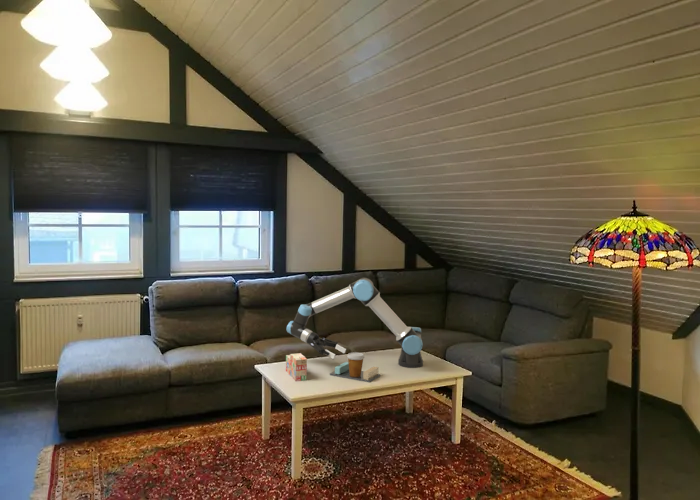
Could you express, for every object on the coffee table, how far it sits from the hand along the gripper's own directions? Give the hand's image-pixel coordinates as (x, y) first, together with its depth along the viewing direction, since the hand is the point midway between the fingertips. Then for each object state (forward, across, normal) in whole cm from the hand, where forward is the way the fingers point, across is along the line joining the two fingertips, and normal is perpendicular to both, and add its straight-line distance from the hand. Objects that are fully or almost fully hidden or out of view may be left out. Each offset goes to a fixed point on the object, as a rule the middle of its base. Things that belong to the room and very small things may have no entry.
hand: (340, 354), depth 321 cm
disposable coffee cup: (+14, +4, -6) cm, 16 cm away
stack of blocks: (-14, +17, -17) cm, 28 cm away
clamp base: (+13, +1, -7) cm, 15 cm away
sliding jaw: (+5, +1, -8) cm, 10 cm away
